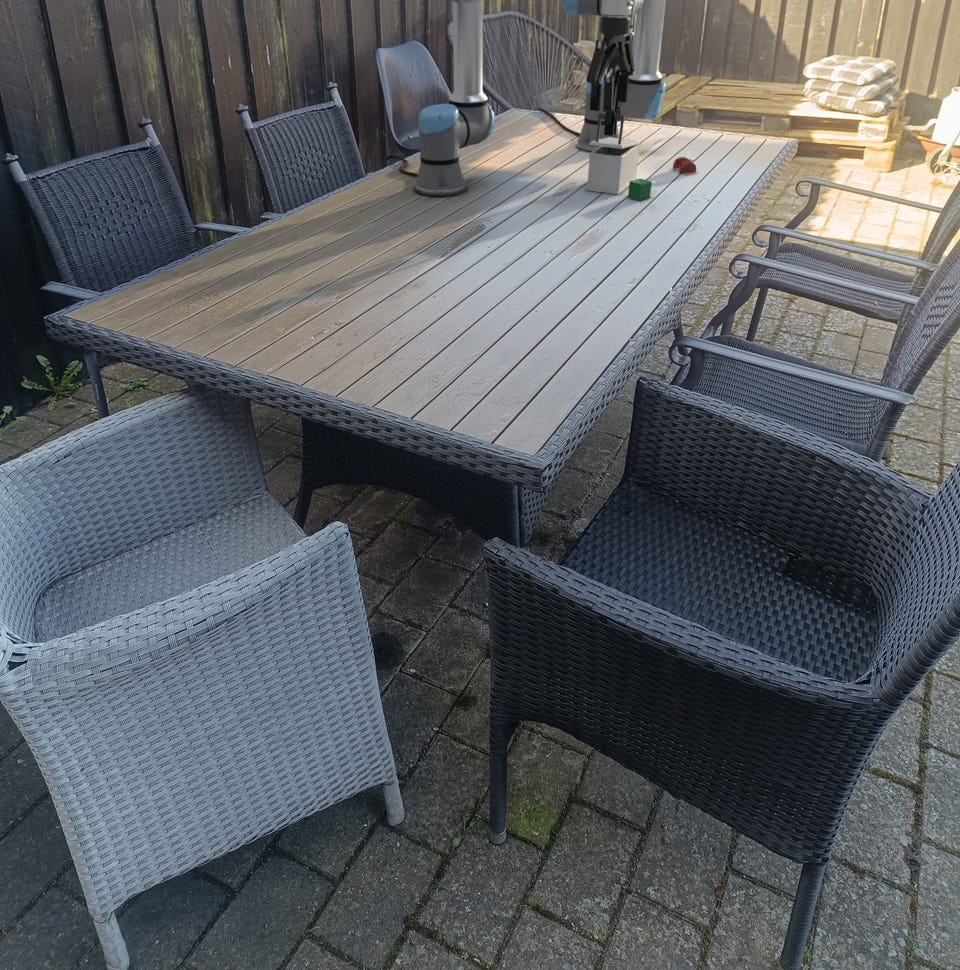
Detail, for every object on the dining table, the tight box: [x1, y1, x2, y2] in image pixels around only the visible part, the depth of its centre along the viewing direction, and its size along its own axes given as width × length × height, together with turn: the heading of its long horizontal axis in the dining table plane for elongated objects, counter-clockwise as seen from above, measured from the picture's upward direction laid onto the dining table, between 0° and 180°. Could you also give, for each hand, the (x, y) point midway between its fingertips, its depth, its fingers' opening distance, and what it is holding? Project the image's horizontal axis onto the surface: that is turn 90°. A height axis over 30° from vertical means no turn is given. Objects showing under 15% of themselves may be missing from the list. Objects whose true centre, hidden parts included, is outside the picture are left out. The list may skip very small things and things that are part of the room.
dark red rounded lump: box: [672, 156, 697, 174], centre depth 274 cm, size 6×4×8 cm
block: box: [627, 178, 653, 201], centre depth 251 cm, size 5×5×5 cm
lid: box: [590, 113, 641, 149], centre depth 253 cm, size 18×10×9 cm, turn 154°
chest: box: [586, 144, 640, 195], centre depth 259 cm, size 17×10×11 cm, turn 154°
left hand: (608, 106), depth 226 cm, fingers open, 13 cm apart
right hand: (610, 134), depth 249 cm, fingers closed on lid, 2 cm apart
